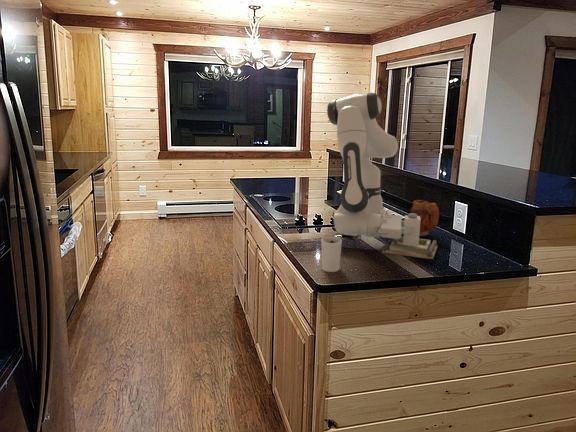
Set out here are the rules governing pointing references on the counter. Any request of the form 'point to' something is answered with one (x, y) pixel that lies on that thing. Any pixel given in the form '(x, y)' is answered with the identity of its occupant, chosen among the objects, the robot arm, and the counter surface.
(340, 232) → the robot arm
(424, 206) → the orange brown rounded block
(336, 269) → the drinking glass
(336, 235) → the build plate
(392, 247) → the tray
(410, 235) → the white capped container
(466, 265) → the counter surface
